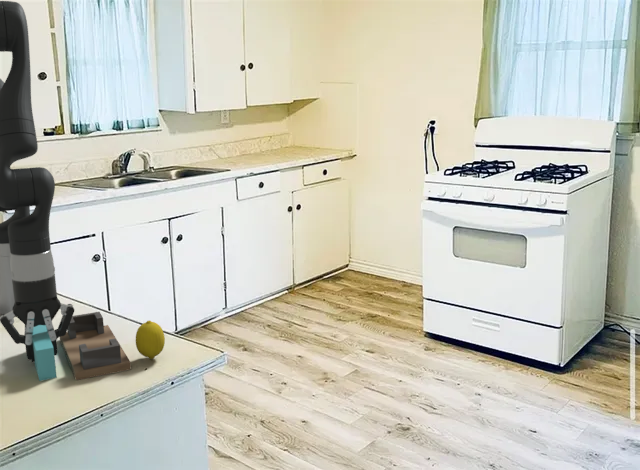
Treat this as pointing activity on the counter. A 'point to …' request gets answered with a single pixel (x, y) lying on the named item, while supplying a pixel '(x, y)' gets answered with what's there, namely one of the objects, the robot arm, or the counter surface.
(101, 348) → the slat frame
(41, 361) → the slat
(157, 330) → the lemon
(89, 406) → the counter surface
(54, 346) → the robot arm
